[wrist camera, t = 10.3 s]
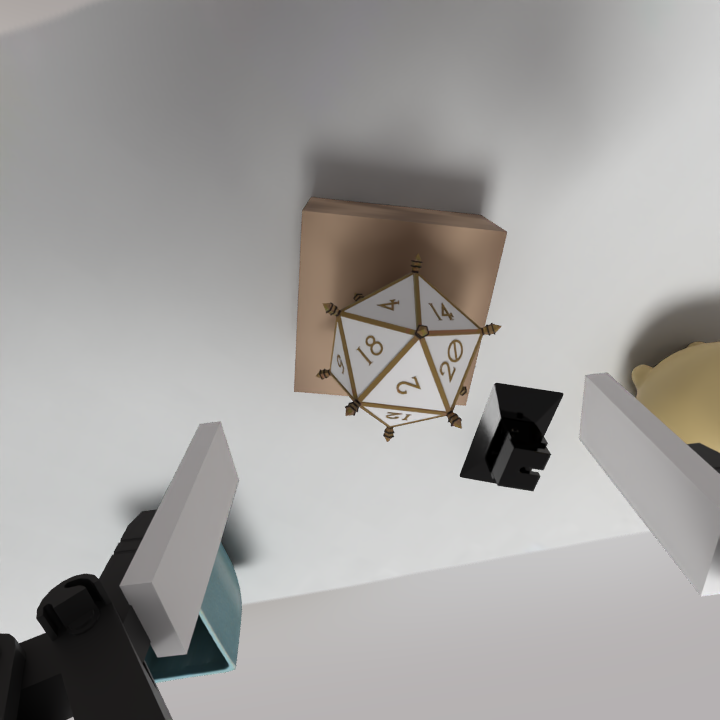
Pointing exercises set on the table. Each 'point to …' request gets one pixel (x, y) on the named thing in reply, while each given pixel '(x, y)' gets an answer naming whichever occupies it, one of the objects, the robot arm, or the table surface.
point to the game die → (403, 352)
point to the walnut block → (385, 269)
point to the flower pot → (208, 630)
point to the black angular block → (512, 437)
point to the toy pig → (685, 392)
